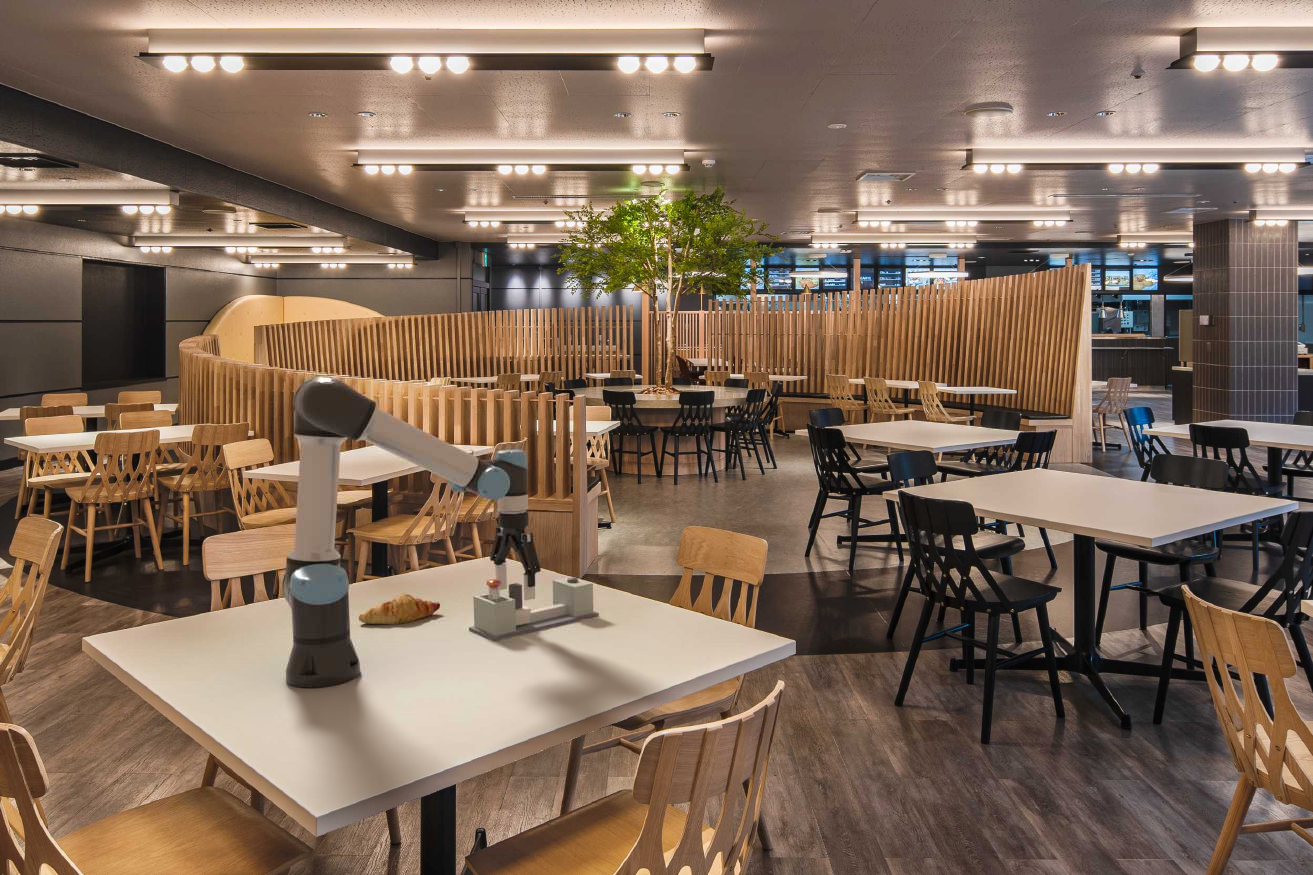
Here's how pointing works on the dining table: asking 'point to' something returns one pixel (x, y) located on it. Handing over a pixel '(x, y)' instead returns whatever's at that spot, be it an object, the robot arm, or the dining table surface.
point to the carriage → (519, 604)
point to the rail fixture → (534, 611)
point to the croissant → (399, 611)
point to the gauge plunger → (494, 589)
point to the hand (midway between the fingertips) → (515, 594)
